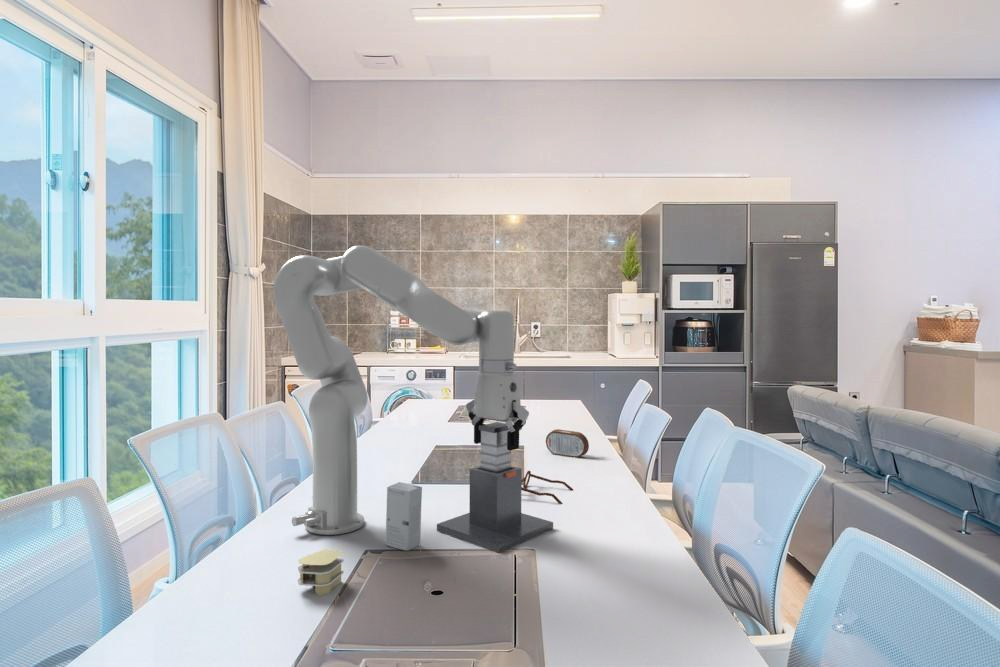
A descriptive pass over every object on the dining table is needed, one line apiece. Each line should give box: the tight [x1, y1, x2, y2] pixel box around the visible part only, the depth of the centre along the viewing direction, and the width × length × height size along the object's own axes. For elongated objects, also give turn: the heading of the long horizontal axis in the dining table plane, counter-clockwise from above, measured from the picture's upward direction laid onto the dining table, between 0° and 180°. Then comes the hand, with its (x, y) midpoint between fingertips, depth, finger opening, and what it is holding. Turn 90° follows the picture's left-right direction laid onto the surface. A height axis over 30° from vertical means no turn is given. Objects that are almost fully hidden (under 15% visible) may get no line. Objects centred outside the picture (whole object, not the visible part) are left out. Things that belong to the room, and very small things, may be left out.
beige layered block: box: [297, 548, 345, 596], centre depth 103 cm, size 10×9×6 cm
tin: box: [545, 428, 590, 459], centre depth 201 cm, size 15×3×8 cm, turn 58°
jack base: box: [436, 465, 554, 553], centre depth 131 cm, size 18×18×14 cm
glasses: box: [521, 470, 574, 505], centre depth 158 cm, size 13×13×5 cm
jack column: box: [479, 421, 512, 474], centre depth 131 cm, size 6×5×21 cm
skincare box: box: [385, 481, 423, 552], centre depth 122 cm, size 6×4×12 cm
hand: (496, 446), depth 131 cm, fingers open, 9 cm apart
